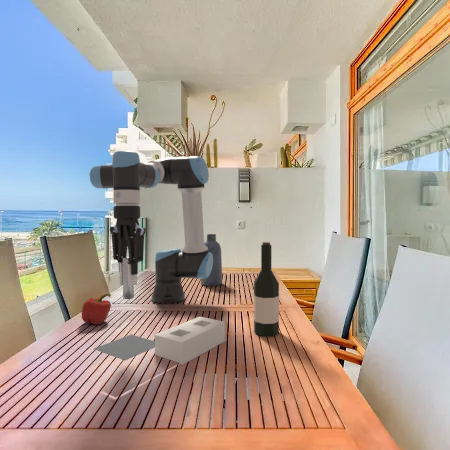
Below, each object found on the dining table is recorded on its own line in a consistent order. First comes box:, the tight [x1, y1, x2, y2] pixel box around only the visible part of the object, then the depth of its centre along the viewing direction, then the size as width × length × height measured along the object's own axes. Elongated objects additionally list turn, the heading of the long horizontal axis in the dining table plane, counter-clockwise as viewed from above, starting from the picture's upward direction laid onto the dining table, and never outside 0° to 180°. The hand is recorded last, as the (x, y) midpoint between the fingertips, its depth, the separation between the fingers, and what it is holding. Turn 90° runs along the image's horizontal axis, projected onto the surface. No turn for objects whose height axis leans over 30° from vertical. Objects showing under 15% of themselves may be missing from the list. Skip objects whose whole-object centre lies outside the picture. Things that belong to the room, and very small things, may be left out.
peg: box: [122, 256, 135, 300], centre depth 99 cm, size 3×3×12 cm
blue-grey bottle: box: [200, 233, 223, 287], centre depth 190 cm, size 12×12×28 cm
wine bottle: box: [253, 241, 280, 338], centre depth 111 cm, size 8×8×30 cm
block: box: [154, 316, 226, 366], centre depth 98 cm, size 20×10×6 cm, turn 146°
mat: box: [93, 334, 155, 361], centre depth 99 cm, size 14×14×1 cm
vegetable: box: [81, 293, 112, 326], centre depth 122 cm, size 11×10×10 cm
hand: (128, 284), depth 99 cm, fingers closed on peg, 3 cm apart
